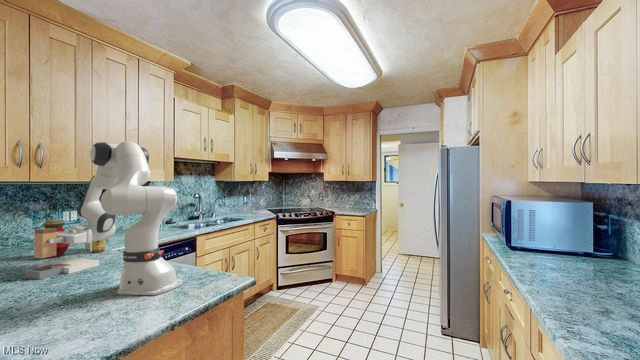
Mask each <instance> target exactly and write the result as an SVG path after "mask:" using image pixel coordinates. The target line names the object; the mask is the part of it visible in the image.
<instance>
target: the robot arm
mask: <svg viewBox="0 0 640 360" xmlns="http://www.w3.org/2000/svg"><path fill="white" fill-rule="evenodd" d="M89 158H90V160H91V163H93V165H95V166H97V167H96V168H97V169H96V173H95V175H93V176H92V177H91V178H90V180H89V182H88V185H87V187H86V191H85V193H84V196H83V198H82V200H81V202H80V203H79V205H78V206H77V211H76V213H77V215H78V216H79V217H81V218H83V219H84V220H86V221H88V223H87V224H84V225H75V226H72V227H70V228H69V229H68V230H67V231H64V232H57V238H54V239H48V240H47V243H68V244H70V245H74V246H77V245H81V244H82V245H83V244H85V243H91V242H92V241H98V240H103V239H105V240H107V239H109V238H111V237H112V236H114V235H115V233H116V229H117V228H116V225H115V221H116V219H117V218H116V216H131V215H133V216H134V215H141V217H140V220H138V222H135V223H134V224H131V225H130V226H129V227H128V228H127V229H126V230H125V232H124V250H123V253H122V260H123V266H122V270H121V272H120V273H121V275H120V280H119V281H120V282H119V287H118V290H117V292H116V294H117V295H130V296H131V295H134V296H135V295H137V296H139V295H141V296H156V295H160V294H163V293H167V292H169V291H172V290H174V289H176V288H178V287H180V286H181V285H182V284H183V283H184V281H183V279H181V278H177V274H176V269H175V267H173V265H171V264H170V263H168V261H166V260H165V259H164V258H163V257H162V256H163V255H162V254H163V253H164V251H165V250H164V249H163V250H160V247H159V233H160V232H159V231H160V228H161V227H160V226H161V224H162V222H163V220H164V218H165V217H166V216H167V215H168V214H169V213H170V212H171V211H172V210H174V209H175V207H176V205H177V203H178V194H177V193H176V191H175V190H174V189H173V188H172V187H166V186H161V185H160V186H159V185H158V186H157V185H155V186H154V185H153V186H151V185H150V186H148V185H147V186H145V184H146V183H147V182H148V181H149V180H150V179H151V170H150V166H149V161H150V154H149V151H148V150H147V149H146V148H144V147H141V146H139V144H138V143H136V142H133V141H129V140H128V141H127V140H126V141H122V142H120V143H115V142H105V141H103V142H96V143H94V144H92V146H91V148H90V150H89ZM103 190H105V191H104V192H103V194H102V191H103Z"/></svg>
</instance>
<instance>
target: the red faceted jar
mask: <svg viewBox="0 0 640 360" xmlns="http://www.w3.org/2000/svg"><path fill="white" fill-rule="evenodd" d="M43 226H44V229H46V228H55V229H57V232H65V230H64V228H63V227H64V226H65V221H63V220H62V219H48V220H46V221H45V222H44V223H43ZM70 245H71V244H68V243H57V244H56V256H52V257H47V258H46V259H55V257H57V258H61V257H63V256H64V255H65V254H66V252H67V250H68V249H69V248H70ZM60 256H61V257H60Z"/></svg>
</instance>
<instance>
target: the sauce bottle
mask: <svg viewBox="0 0 640 360" xmlns="http://www.w3.org/2000/svg"><path fill="white" fill-rule="evenodd" d="M91 249H92V250H91V253H94V254H96V253H103V252H105V251H106V239H103V240H98V241H92V248H91Z"/></svg>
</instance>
